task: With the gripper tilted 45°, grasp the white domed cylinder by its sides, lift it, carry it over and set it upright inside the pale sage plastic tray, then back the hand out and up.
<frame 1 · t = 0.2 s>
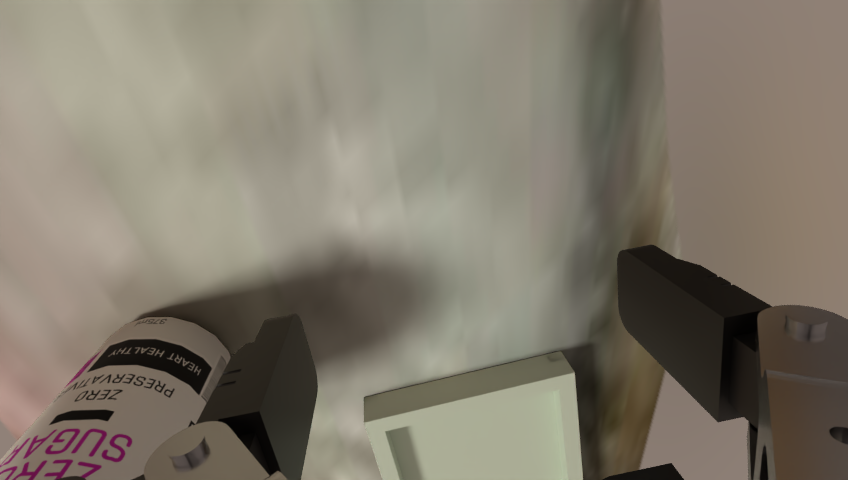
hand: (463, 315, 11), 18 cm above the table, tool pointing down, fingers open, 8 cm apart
supplement can: (174, 361, 31), on the table
tray: (479, 455, 38), on the table
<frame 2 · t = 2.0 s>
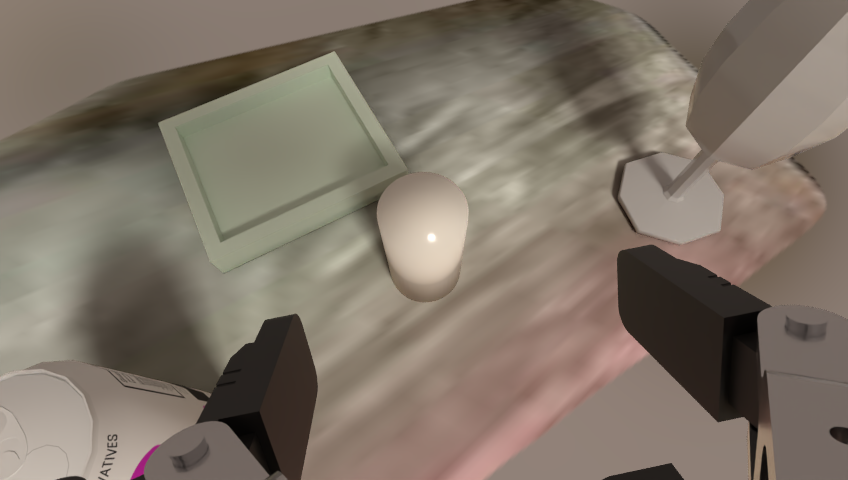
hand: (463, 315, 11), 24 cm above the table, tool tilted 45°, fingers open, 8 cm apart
supplement can: (188, 452, 32), on the table
tray: (287, 161, 42), on the table
white domed cylinder: (425, 268, 37), on the table
wineglass: (666, 201, 40), on the table
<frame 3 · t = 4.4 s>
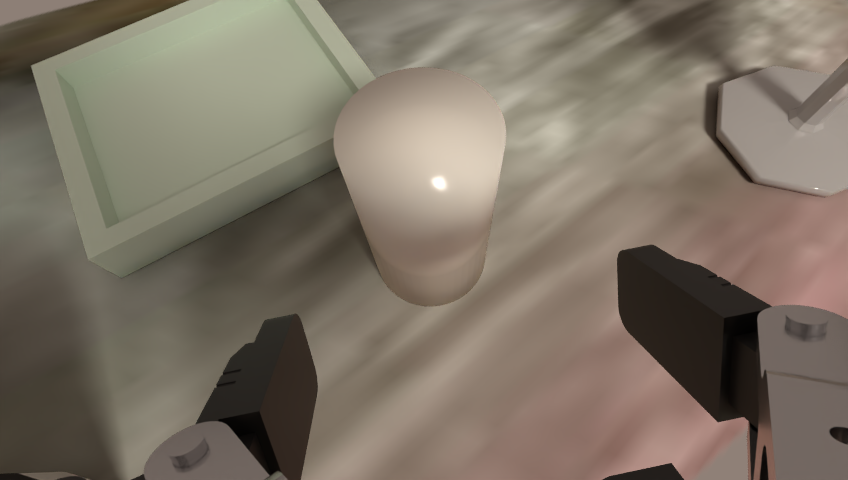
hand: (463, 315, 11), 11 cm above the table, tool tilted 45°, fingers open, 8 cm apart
tray: (223, 114, 29), on the table
white domed cylinder: (430, 254, 24), on the table
wineglass: (788, 136, 26), on the table
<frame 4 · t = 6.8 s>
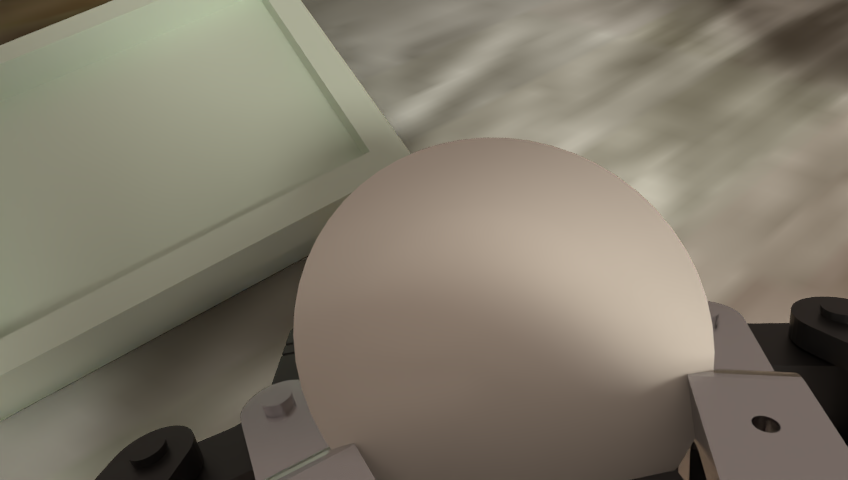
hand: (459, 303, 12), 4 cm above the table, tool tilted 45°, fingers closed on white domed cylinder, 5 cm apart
tray: (164, 160, 20), on the table
white domed cylinder: (469, 394, 15), on the table, touching gripper
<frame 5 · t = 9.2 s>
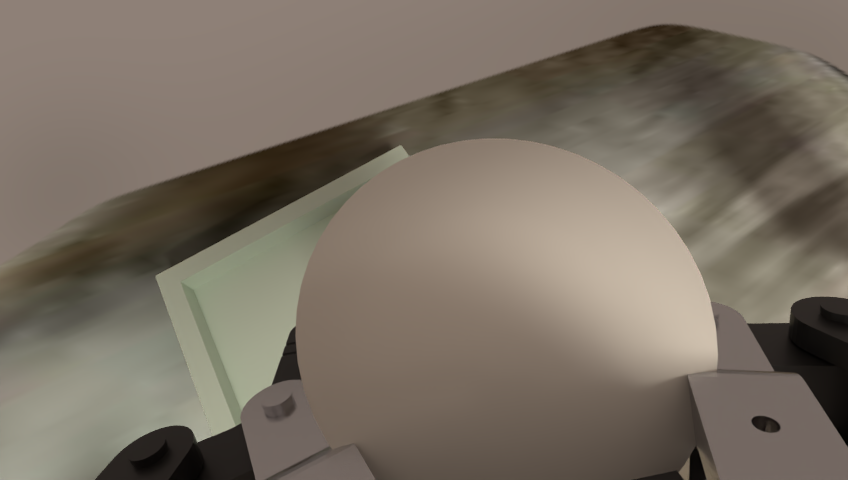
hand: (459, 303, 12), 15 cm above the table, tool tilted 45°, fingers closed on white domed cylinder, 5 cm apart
tray: (346, 316, 28), on the table
white domed cylinder: (470, 394, 15), point 11 cm above the table, touching gripper
when the fingers open (7 cm above the table, at t = 12.0 s): white domed cylinder drops 1 cm, resting on tray.
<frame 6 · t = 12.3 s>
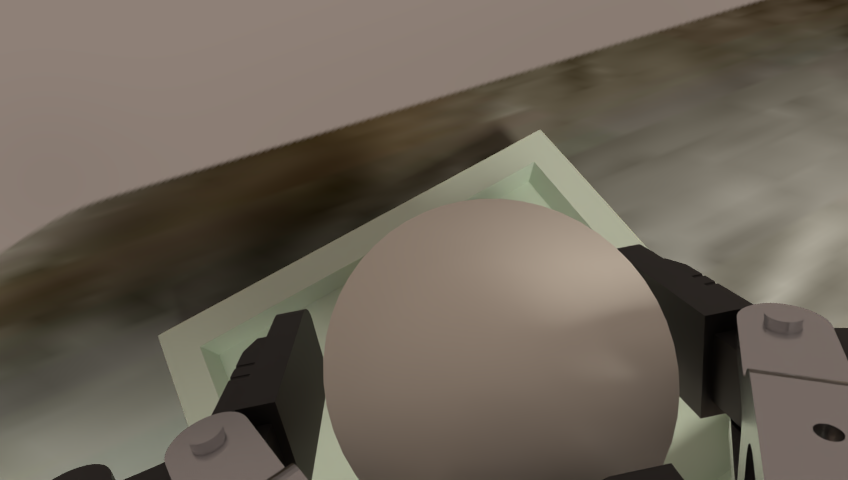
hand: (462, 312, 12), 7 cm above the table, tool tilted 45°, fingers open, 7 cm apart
tray: (466, 402, 18), on the table
white domed cylinder: (472, 403, 17), point 1 cm above the table, touching tray
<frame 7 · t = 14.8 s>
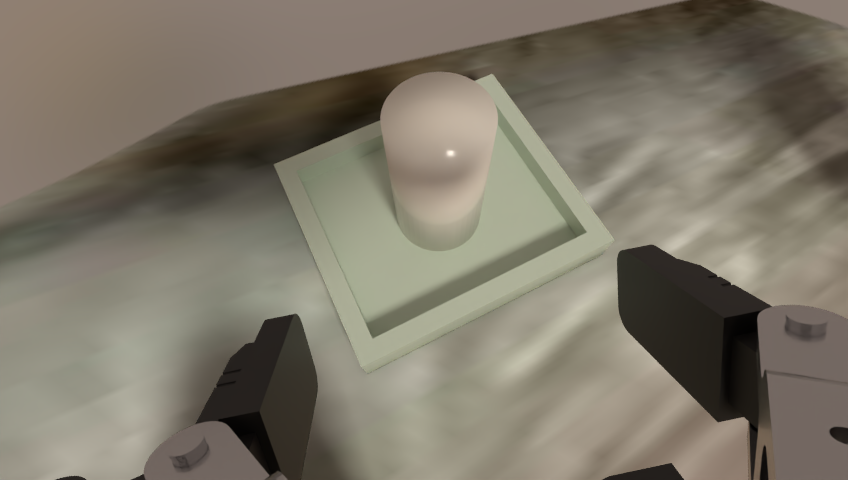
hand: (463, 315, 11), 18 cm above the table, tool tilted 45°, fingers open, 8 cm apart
tray: (436, 217, 32), on the table
white domed cylinder: (438, 212, 31), point 1 cm above the table, touching tray
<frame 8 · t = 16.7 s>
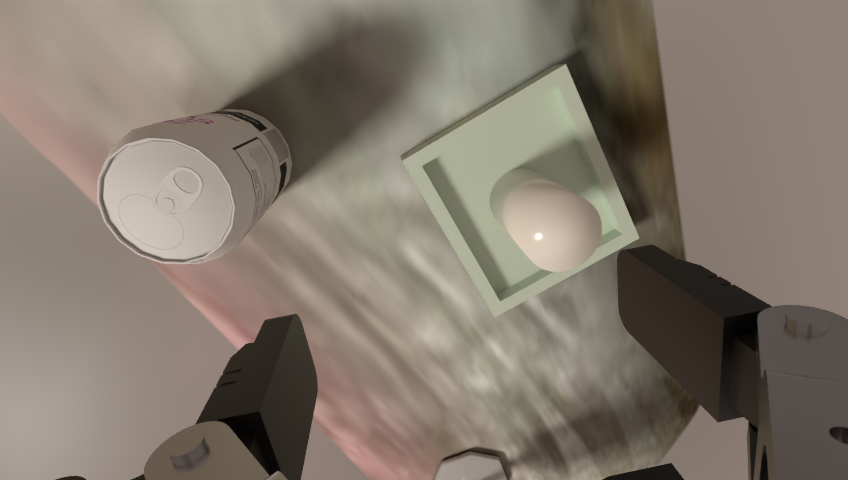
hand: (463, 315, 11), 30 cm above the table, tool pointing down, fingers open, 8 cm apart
supplement can: (244, 158, 39), on the table
tray: (518, 194, 42), on the table
white domed cylinder: (520, 199, 41), point 1 cm above the table, touching tray
wineglass: (468, 478, 53), on the table
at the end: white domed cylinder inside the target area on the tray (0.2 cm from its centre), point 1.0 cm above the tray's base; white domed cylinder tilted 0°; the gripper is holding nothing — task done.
